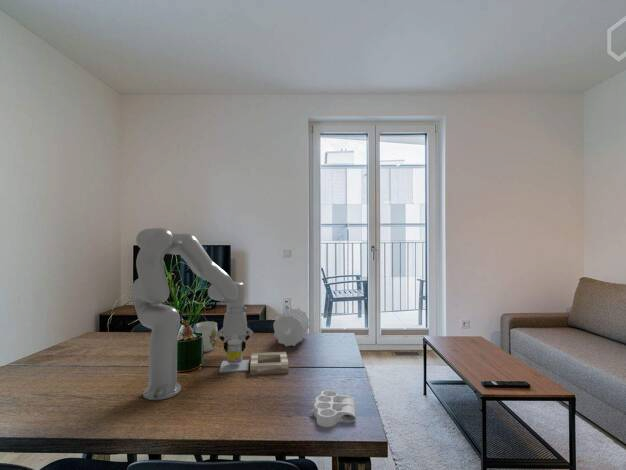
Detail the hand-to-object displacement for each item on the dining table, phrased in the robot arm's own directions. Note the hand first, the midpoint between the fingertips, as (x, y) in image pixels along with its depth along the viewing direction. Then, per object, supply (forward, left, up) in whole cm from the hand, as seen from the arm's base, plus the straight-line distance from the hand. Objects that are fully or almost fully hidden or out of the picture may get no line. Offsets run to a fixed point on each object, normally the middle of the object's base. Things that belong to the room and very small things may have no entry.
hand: (234, 350), depth 145 cm
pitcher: (+26, +16, -7) cm, 31 cm away
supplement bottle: (0, 0, -5) cm, 5 cm away
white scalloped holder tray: (-44, -35, -8) cm, 56 cm away
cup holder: (-2, -15, -7) cm, 17 cm away
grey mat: (0, 0, -7) cm, 7 cm away
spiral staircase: (+33, -28, -7) cm, 44 cm away
